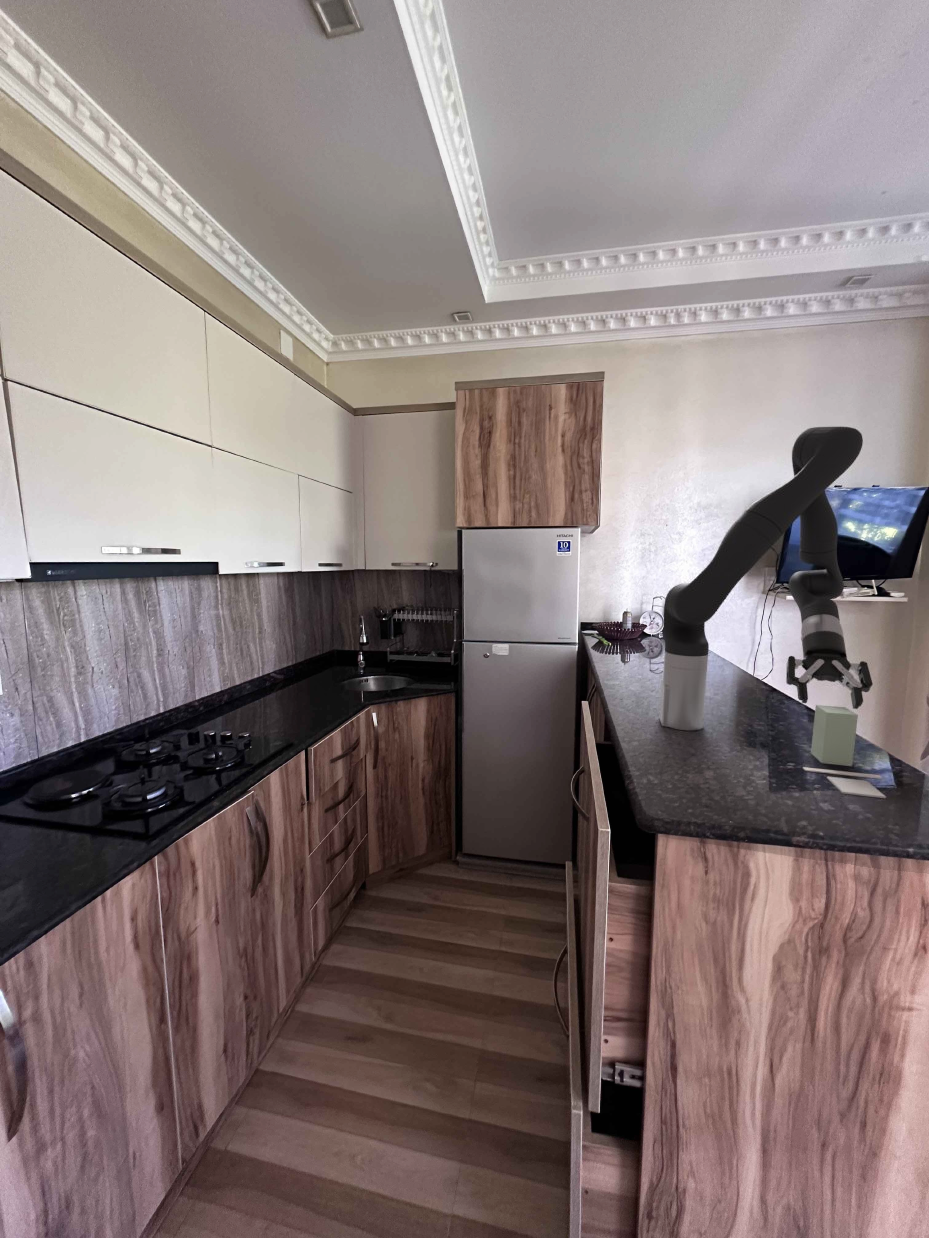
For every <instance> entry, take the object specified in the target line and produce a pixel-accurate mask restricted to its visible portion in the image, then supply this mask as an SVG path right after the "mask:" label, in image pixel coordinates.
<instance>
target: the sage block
mask: <svg viewBox="0 0 929 1238" xmlns="http://www.w3.org/2000/svg"><path fill="white" fill-rule="evenodd" d="M858 717H859V715H858V714H857V713H855V712H854V711H852V710H851V709H849V708H847V707H845V706H844V707H843V706H833V705H821V704H820V705H819V704H815V710H814V719H813V731H812V737H811V738H812V739H811V750H810V754H811V755H812V756H813V757H814V758H815V759H816V760H818V761H819V762H820V763H821V764H825V765H826V764H827V765H828V764H829V765H838V766H847V767H853V763H854V762H853V761H854V755H855V754H854V753H855V743H856V737H857V736H856V734H857V726H858Z"/></svg>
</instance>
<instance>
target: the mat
mask: <svg viewBox="0 0 929 1238" xmlns="http://www.w3.org/2000/svg"><path fill="white" fill-rule="evenodd" d="M826 779H827V780H828V781H829V782H830V783H831V784H832V785H833V786H834V787H835V788H836V789H838V790H839V792H841V794H845V795H854V796H860V797H861V796H862V797H871V798H878V799H879V798H880V799H886V797H887V796H886V795H885V794H883V793H882V792H881V791H880V790H879V789H877V788H876V787H875V786H873V784H871V783H870V782H869V781H868V780H865V779H864V780H862V779H855V778H844V777H837V776H836V777H835V776H826Z"/></svg>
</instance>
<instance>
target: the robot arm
mask: <svg viewBox="0 0 929 1238" xmlns="http://www.w3.org/2000/svg"><path fill="white" fill-rule="evenodd" d="M863 444H864V439H863V435H862V432H861V431H860V430H859V429H856V428H855V427H850V426H814V427H809V428H807V429H805V430H804V431H802V432H801V433H800V434H799V435H798V436H797V437H796V438H795V441H794V443H793V445H792V449H791V463H792V470H793V477H792V478H791V479H790V480H788V481H786V483H784V484H782V485H781V486H779V487H777V488H775V489H774V490H771V491H770V492H768V493H766V494H765V495H763V496H761V497H760V498H759V499H757V500H756V501H754V502H753V503H752V504H750V505H749V506H748V507H747V508H746V509H745V510H744V511H743V513H741V514H740V516H739V517H738V518H737V519H736V520H735V521H734V522H733V523H732V525H731V526H730V527H729V529H728V530H727V532H726V533H725V535H724V537H723V538H722V540H721V542H720V544H719V546H718V549H717V550H716V553H715V554H714V556H713V558H712V559H711V561H710V562H709V563H708V565H707V566H706V567H705V568H704V569H702V571H701V572H700V573H699V574H698V575H697V576H696V577H694V579H692V581H690V582H684V583H683V582H682V583H679V584H676V585H674V586H673V587H672V588H670V590H669V591H668V592H667V594H666V595H665V599H664V606H663V627H662V628H663V631H662V634H663V635H662V636H663V641H664V658H663V670H662V671H663V672H662V673H663V674H662V680H661V681H660V682H661V686H660V699H659V701H660V702H659V716H658V718H659V719H658V720H659V722H660V724H661V726H662V727H668V728H671V729H675V730H680V731H699V730H702V729H703V728H704V720H705V716H704V715H705V703H706V691H707V677H708V676H707V673H708V664H709V663H708V661H709V660H708V659H709V645H710V644H709V642H708V639H707V637H706V633H705V631H706V629H705V623H706V622H708V621H709V620H711V618H712V617H713V616H714V615H715V614H716V613H717V612H718V610H719V609H720V607H721V606H722V605H723V603H724V602H725V600H726V599H727V597H728V596H729V594H730V593H731V592H732V591H733V590H734V588H735V587H736V586H737V584H738V583H739V582H740V581H741V580H742V578H744V577H745V575H747V574H748V573H749V571H750V570H751V569H752V568H753V567H755V565H756V564H757V563H758V562H759V561H760V559H762V558H763V557H764V555H766V554H767V553H768V552H769V551H770V550H771V548H772V547H773V546H774V545H775V544H776V543H777V542H778V541H779V540H780V538H781V537H782V536H783V535H784V534H785V533H786V531H787V530H788V529H789V528H790V527H791V526H792V524H793V523H794V522H795V521H796V520H797V519H798V518H799V521H800V522H799V523H800V526H799V527H800V528H799V530H800V532H799V533H800V534H799V553H798V554H799V559H800V561H801V562H802V563H805V564H808V565H813V566H814V565H815V566H821V567H823V568H825V569H819V570H818V569H814V570H800V571H796V572H794V573H793V574H792V575H791V576H790V578H789V581H788V588H789V593H790V594H791V596H792V598H793V600H794V602H795V603H796V605H797V607H798V610H799V612H800V619H801V631H800V634H801V636H800V640H801V645H802V654H803V655H802V657H803V659H801V658H800V659H798V658H796V657H795V656H794V655H790V656H788V658H787V661H786V674H785V675H786V679H785V681H786V684H787V685H789V686H792V685H793V686H795V687H796V689H797V698H798V700H799V701H801V703H802V704H807V703H808V699H809V694H808V685H807V684H810V682H811V681H813V679H815V680H817V681H821V682H823V681H825V682H826V681H828V682H831V683H832V682H833V683H835V682H837V683H839V684H840V685H841V686H842V687H843V688H844V687H845V688H846V689H848V690H849V691H850V698H851V707H852V709H855V710H858V709H859V707H862V705H863V703H864V697H863V692H864V693H868V692H870V689H871V687H872V686H873V684H874V683H873V680H872V675H871V673H870V669H869V665H868V662H866V661H864V660H862V661H860V662H859V663H853V662H852V663H851V662H850V661H849V660H848V656H847V650H846V643H845V642H846V641H845V638H844V631H843V627H842V624H841V621H840V619H841V618H840V613H839V609H838V608H839V607H838V605H837V603H836V602H835V601H834V599H837V598H839V597H840V596H841V595H842V593H843V592H844V589H845V583H844V579H843V576H842V574H841V571H840V567H839V564H838V555H837V554H838V553H837V547H838V536H839V535H838V533H839V527H838V522H837V517H836V514H835V512H834V511H833V508H832V505H831V503H830V501H829V499H828V497H827V494H826V490H827V489H828V488H829V487H830V486H831V485H832V484H834V483H835V481H837V479H839V478H840V477H841V476H843V474H844V473H845V472H846V471H847V470H848V469H849V468H850V467H851V466H852V465H854V463H855V461H856V460H857V459H858V457H859V455H860V453H861V451H862V448H863ZM799 666H801V667H802V668H803V669H804V671H805V672H804V673H803V674H802V675H801V676H799V677H797V676H796V670H798V668H799ZM850 670H851V671H853V672H854V673H855V675H857V676H858V680H859V681H858V680H857V679H856V678H855V676H854V674H852V673H851V672H850Z"/></svg>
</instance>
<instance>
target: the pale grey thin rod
mask: <svg viewBox="0 0 929 1238" xmlns="http://www.w3.org/2000/svg"><path fill="white" fill-rule="evenodd" d="M802 769H803V770H804V771H805V772H813V773H823V774H829V775H830V774H831V775H832V774H833V775H840V776H841V775H842V776H848V777H849V776H851V777H860V778H869V779H876V780H883V779H884V778H883V777H882V776H881V775H880V774H870V773H861V772H854V771H853V772H850V771H843V770H833V769H823V768H817V767H816V768H814V767H806V766H805V767H804V766H803V767H802Z"/></svg>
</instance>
